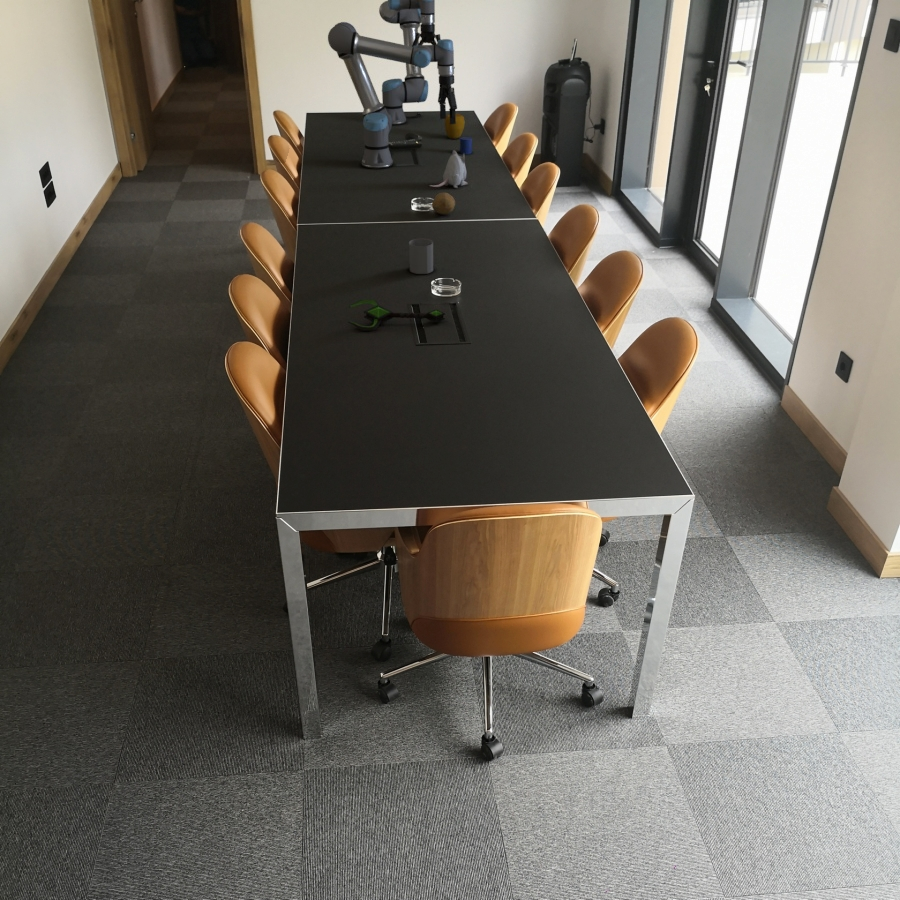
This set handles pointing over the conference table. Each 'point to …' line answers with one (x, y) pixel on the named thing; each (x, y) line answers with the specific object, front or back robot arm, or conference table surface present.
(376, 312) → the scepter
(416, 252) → the cup
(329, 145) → the conference table surface
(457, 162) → the toy
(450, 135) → the yellow bell pepper
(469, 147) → the can
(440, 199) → the potato
